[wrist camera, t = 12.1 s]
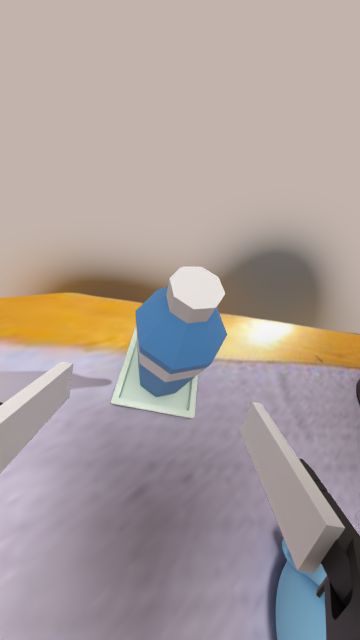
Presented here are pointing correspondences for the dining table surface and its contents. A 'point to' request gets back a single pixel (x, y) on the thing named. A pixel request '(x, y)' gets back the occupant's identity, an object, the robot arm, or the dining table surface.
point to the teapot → (300, 603)
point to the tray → (140, 398)
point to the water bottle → (179, 330)
